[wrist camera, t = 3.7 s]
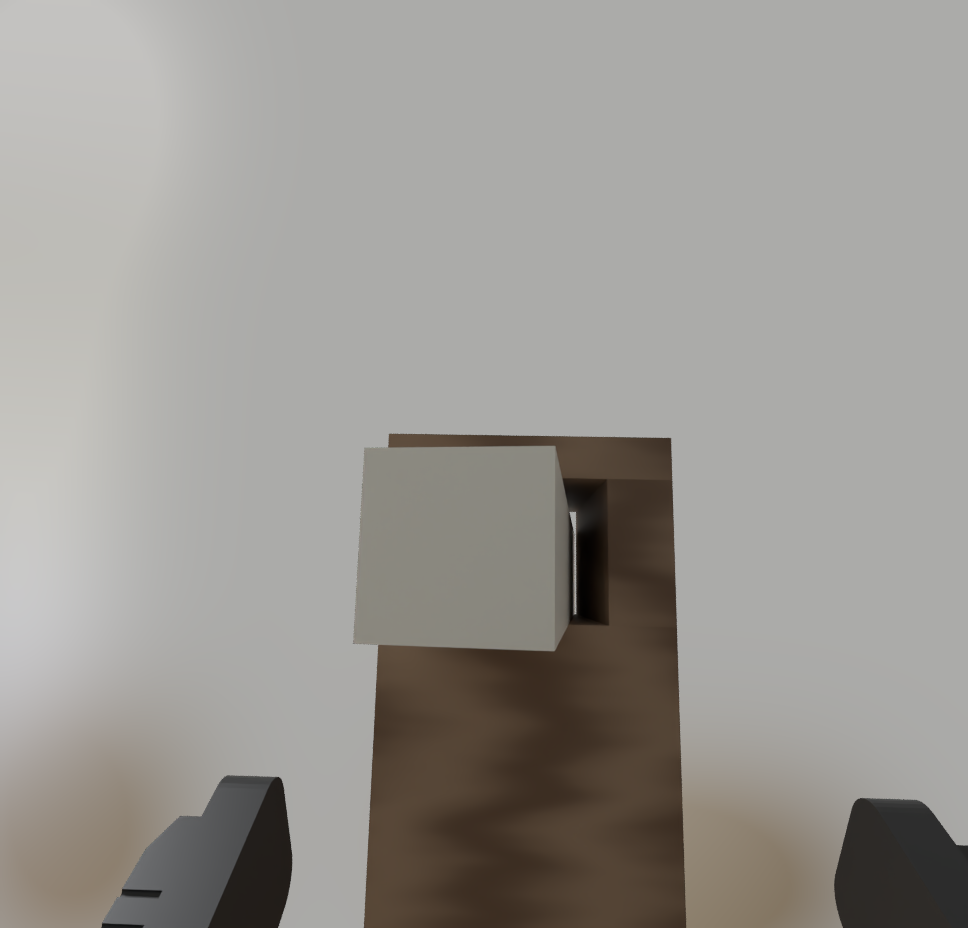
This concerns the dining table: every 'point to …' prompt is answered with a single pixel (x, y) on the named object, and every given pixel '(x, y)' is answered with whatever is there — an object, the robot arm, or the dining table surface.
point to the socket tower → (544, 734)
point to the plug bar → (464, 548)
